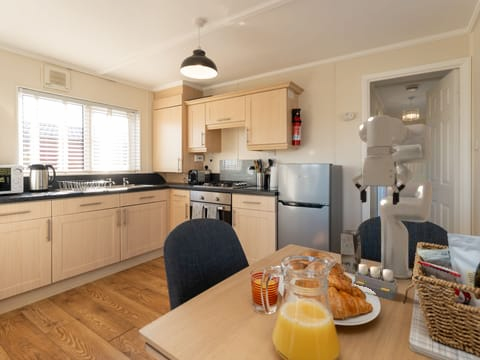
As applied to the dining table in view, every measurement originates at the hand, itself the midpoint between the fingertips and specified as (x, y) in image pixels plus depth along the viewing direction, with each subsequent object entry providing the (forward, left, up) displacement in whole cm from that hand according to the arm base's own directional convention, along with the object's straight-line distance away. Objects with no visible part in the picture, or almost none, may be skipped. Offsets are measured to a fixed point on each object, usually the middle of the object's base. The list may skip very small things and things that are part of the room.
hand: (379, 203), depth 88 cm
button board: (-2, -2, -32) cm, 32 cm away
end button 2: (-2, -6, -27) cm, 28 cm away
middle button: (-2, -2, -27) cm, 27 cm away
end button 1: (-2, +2, -27) cm, 27 cm away
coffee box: (-17, -16, -32) cm, 39 cm away
